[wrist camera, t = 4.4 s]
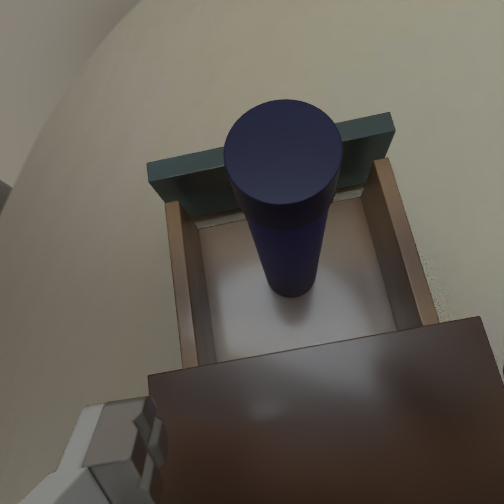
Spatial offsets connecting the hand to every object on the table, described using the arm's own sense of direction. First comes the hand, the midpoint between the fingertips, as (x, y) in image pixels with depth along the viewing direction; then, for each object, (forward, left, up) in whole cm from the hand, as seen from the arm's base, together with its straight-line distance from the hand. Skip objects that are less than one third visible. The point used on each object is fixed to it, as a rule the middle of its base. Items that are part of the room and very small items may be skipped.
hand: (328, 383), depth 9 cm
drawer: (-5, +4, -15) cm, 16 cm away
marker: (-5, +4, -14) cm, 15 cm away
